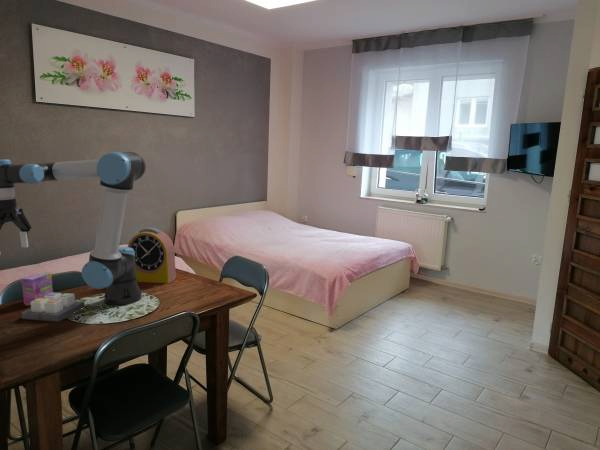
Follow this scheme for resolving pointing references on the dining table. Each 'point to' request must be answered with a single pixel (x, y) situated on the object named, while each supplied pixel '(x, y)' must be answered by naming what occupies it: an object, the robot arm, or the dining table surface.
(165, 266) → the alarm clock
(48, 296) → the slate key
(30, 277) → the box
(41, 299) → the mustard key
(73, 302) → the sage key
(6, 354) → the dining table surface
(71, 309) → the keypad board
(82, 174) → the robot arm
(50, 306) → the terracotta key
